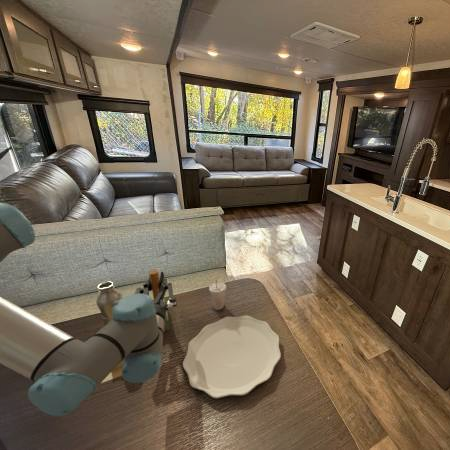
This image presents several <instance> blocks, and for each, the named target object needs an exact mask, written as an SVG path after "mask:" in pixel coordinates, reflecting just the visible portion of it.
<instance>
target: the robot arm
mask: <svg viewBox="0 0 450 450" xmlns="http://www.w3.org/2000/svg"><path fill="white" fill-rule="evenodd" d="M35 241H36V232H35V229H34V227H33V225H32V223H31V222H30V220H29V219H28V218H27V217H26V215H24V214H23V212H22V211H20V210H19V209H18V208H17V207H15V206H14V205H12V204H9V203H6V202H1V201H0V263H1V262H3V261H4V260H5V259H6V258H7V257H8V256H9V255H10V254H12V253H14V252H15V251H17V250H20V249H25V248H27V247H29V246H31V245H33V244H34V243H35ZM148 277H149V278H148V280H146V281H145V282H144V283H143V284H142V286H143V287H137V288H136V290H135V292H134V293H132V294H128V295H126V296H124V297H123V296H122V297H123V298H122V299H120V300H119V301H117V302H116V303H115V305H114V307H113V309H112V317H113V320H112V321H110V322H109V323H108V324H107V325H105V326H104V325H103V327H102V328H101V329H99V330H98V331H97V332H96V333H94V334H92V336H90V337H89V338H88V339H87V340H86V341H82V340H80V339H78V338H76V337H74V336H73V335H70V334H69V333H67V332H64V331H63V330H61V329H60V328H58V327H56V326H54V325H53V324H51V323H49V322H47V321H45V320H43V319H41V318H40V317H38V316H36V315H34V314H33V313H32V312H29V311H28V310H25V309H23V308H22V307H20V306H18V305H17V304H15V303H13V302H12V301H9V300H8V299H5V298H4V297H1V296H0V364H1V365H2V366H4V367H6V368H8V369H10V370H12V371H14V372H16V373H18V374H19V375H22V376H23V377H24V378H26V379H28V380H31V381H32V382H34V383H33V384H32V385H31V386H30V387H29V388H28V391H27V397H28V399H29V402H31V404H32V405H34V406H35V407H37V408H38V409H39V410H40V411H41V412H42V413H44V414H46V415H48V416H51V417H63V416H66V415H68V414H70V413H71V412H73V411H75V409H77V407H79V406H80V404H82V403H83V402H84V401H85V400H86V399H87V398H88V397H89V396H90V395H92V394H94V392H95V391H96V390H97V388H98V387H99V386H100V385H101V384H102V383H101V382H102V381H103V380H104V379H105V378H106V377H107V376H108V375H109V374H110V373H111V372H112V370H113V369H114V368H115V367H116V366H117V365H118V364H119V363H120V362H121V361H122V360H123V359H124V362H123V364H122V376H121V377H122V378H123V380H125V381H126V382H128V383H132V384H139V383H142V382H147V381H150V380H151V379H152V378H154V377H155V376H156V375H157V374H158V373H159V371H160V369H161V364H162V360H163V357H162V356H163V344H164V343H163V342H164V334H165V332H164V326H165V316H166V311H167V312H168V310H169V308H171V307H173V308H176V307H177V306H178V304H177V297H175V296H174V291H173V290H174V289H173V284H172V282H168V280H167V279H168V278H167V277H165V273H164V271H160V274H159V280H160V282H159V284H160V290H159V292H158V295H157V296H156V298H155V299H154V298H152V297H151V296H150V292H152V287H151V281H150V276H148ZM167 292H168V297H169V298H168V300H167V302H166V301H165V302H164V301H163V299H165V295H166V293H167ZM100 383H101V384H100Z"/></svg>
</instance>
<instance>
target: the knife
mask: <svg viewBox="0 0 450 450" xmlns="http://www.w3.org/2000/svg"><path fill="white" fill-rule="evenodd" d="M148 275H149V276H148V277H150V281H151V287H152V291H151V293H152V297H153V298H152V299H155V298H156V296H157V295H158V292H159V290H160V284H159V282H160V274H159V270H158V269H152V270H150V271H149V272H148Z"/></svg>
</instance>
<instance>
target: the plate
mask: <svg viewBox="0 0 450 450" xmlns="http://www.w3.org/2000/svg"><path fill="white" fill-rule="evenodd" d="M186 350H187V351H186V355H185V356H184V359H183V361H182V368H183V370H184V371H185V373H186V374H187V377H188V381H189V385H190V386H191V388H193V389H196V390H199V391H202V392H204V393H206V394H207V395H208V396H209V397H211V398H213V399H222V398H225V397H230V396H234V397H235V396H241V397H243V396H246V395H248V394H250V392H251V391H253V390H254V389H255V388H256V387H257V386H259V385H261V384H264V383H265V382H268V381H269V380H270V379H271V377H272V375H273V372H274V369H275V367H276V365H277V364H278V362H279V361H280V360H281V358H282V357H281V356H282V353H281V350H280V337H279V334H278V333H276V332H275V331H274V330H272V328H271V326H270V325H269V323H268V322H267V321H264V320H260V319H256V318H254V317H252V316H251V315H241V316H225V317H223V318H221V319H219V320H217V321H215V322H212V323H208V324H207V325H205V326H204V327H202V329H201V330H200V332H199V333H198V334H197V335H196V336H195V337H193V338H192V339H191V340H189V342H188V345H187V349H186Z"/></svg>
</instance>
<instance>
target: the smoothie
mask: <svg viewBox="0 0 450 450" xmlns="http://www.w3.org/2000/svg"><path fill="white" fill-rule="evenodd" d="M226 291H227V285H226V283H224V282H221V281H218V278H217V277H215V282H214V283H211V284H210V285H209V287H208V292H209V293H210V296H211V300H212V301H211V302H212V305H213V309H214V310H216V311H219V310H222V309H224V306H225V297H226Z"/></svg>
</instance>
